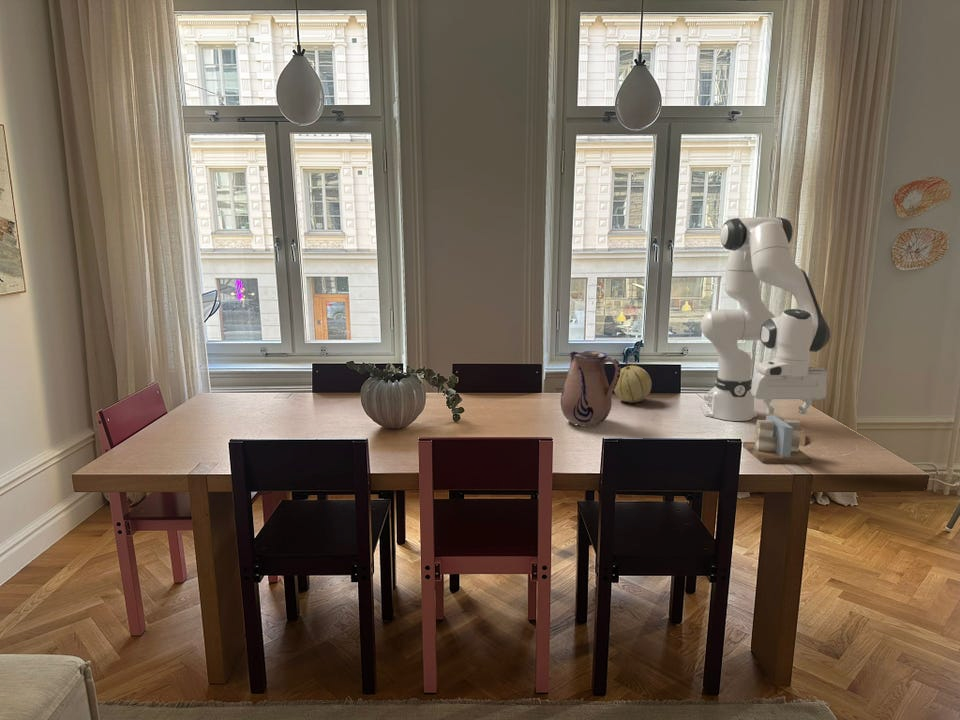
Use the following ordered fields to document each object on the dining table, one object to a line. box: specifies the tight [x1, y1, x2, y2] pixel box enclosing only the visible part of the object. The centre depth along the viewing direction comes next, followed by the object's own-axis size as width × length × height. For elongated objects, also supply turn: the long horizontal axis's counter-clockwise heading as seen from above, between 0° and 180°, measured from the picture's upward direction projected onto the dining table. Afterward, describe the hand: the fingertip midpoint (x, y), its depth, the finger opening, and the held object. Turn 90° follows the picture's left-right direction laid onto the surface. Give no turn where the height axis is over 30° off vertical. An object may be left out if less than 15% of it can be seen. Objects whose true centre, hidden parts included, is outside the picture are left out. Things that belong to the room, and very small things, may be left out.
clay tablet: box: [799, 431, 806, 447], centre depth 198 cm, size 14×10×3 cm
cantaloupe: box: [613, 365, 652, 403], centre depth 239 cm, size 15×15×15 cm
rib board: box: [742, 419, 813, 464], centre depth 182 cm, size 14×14×10 cm
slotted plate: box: [765, 415, 793, 457], centre depth 181 cm, size 12×2×9 cm, turn 179°
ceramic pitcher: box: [560, 350, 622, 427], centre depth 210 cm, size 18×21×25 cm
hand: (786, 413), depth 176 cm, fingers open, 8 cm apart
